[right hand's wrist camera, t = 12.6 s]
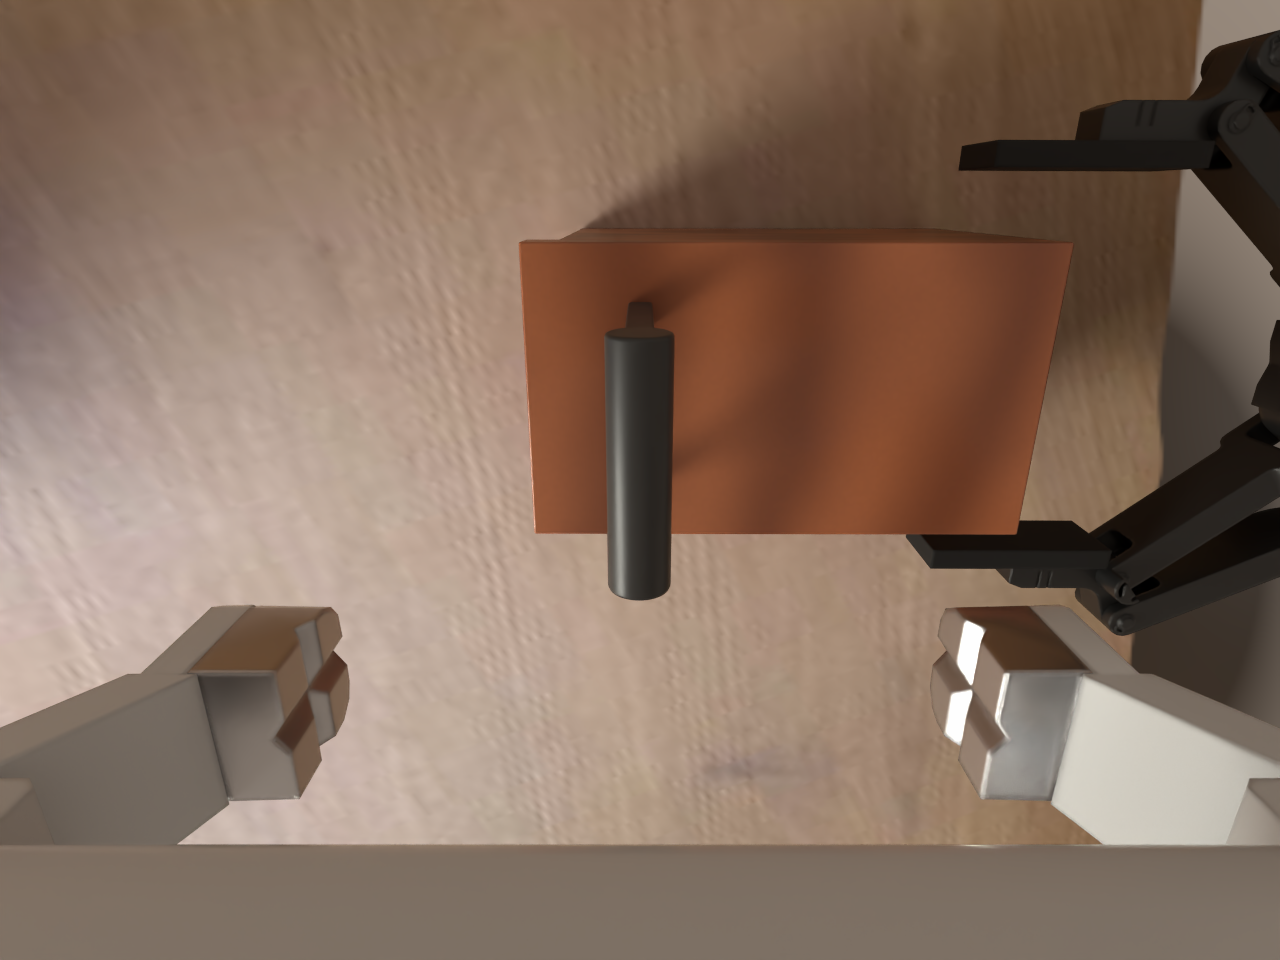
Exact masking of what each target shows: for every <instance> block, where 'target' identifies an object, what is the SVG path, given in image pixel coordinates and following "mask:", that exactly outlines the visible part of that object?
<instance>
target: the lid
mask: <svg viewBox="0 0 1280 960" xmlns="http://www.w3.org/2000/svg"><path fill="white" fill-rule="evenodd" d="M1073 246H1074V243H1072V242H1064V241H1054V240H525V241H522V242H519V257H520V275H521V293H522V312H523V330H524V348H525V367H526V385H527V404H528V422H529V440H530V459H531V477H532V496H533V514H534V532H535V533H536V534H607V538H608V585H609V588H610V590H611V591H612V592H613V593H614V594H615V595H617V596H619V597H622V598H625V599H629V600H650V599H654V598H657V597H660V596H662V595H663V594H665V593H666V592H667V591H668V589H669V587H670V582H671V534H1017V530H1018V524H1019V519H1020V514H1021V509H1022V504H1023V499H1024V494H1025V489H1026V484H1027V479H1028V474H1029V469H1030V464H1031V459H1032V454H1033V449H1034V444H1035V439H1036V434H1037V428H1038V423H1039V418H1040V413H1041V408H1042V403H1043V398H1044V393H1045V388H1046V383H1047V378H1048V373H1049V368H1050V363H1051V358H1052V353H1053V348H1054V343H1055V337H1056V332H1057V327H1058V322H1059V317H1060V312H1061V307H1062V302H1063V297H1064V292H1065V287H1066V282H1067V277H1068V272H1069V267H1070V262H1071V257H1072V252H1073Z"/></svg>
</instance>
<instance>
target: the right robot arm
mask: <svg viewBox="0 0 1280 960" xmlns="http://www.w3.org/2000/svg"><path fill="white" fill-rule="evenodd" d="M341 638H342V632H341V627H340V622H339V617H338V614H337V613H336V612H335V611H334V610H333V609H332V608H331V607H300V606H254V605H231V606H217V607H211V608H210V609H209V610H208V611H207V612H206V613H205V614H204V615H203V616H202V617H201V618H200V619H199V620H197V621H196V622H195V623H194V624H193V625H192V626H191V627H190V628H189V629H188V630H187V631H186V632H185V633H184V634H183V635H181V636H180V637H179V638H178V639H177V640H176V641H175V642H174V643H173V644H172V645H171V646H170V647H169V648H168V649H167V650H165V651H164V652H163V653H162V654H161V655H160V656H159V657H158V658H157V659H156V660H155V661H154V662H153V663H152V664H151V665H149V666H148V667H147V668H146V669H145V670H144V671H143V672H142V673H141V674H127V675H124V676H122V677H119V678H117V679H115V680H112V681H110V682H108V683H105V684H103V685H101V686H98V687H96V688H93V689H91V690H89V691H86V692H84V693H82V694H79V695H77V696H74V697H72V698H70V699H67V700H65V701H63V702H60V703H58V704H56V705H53V706H51V707H48V708H46V709H44V710H41V711H39V712H37V713H34V714H32V715H29V716H27V717H25V718H22V719H20V720H18V721H15V722H13V723H11V724H8V725H6V726H3V727H1V728H0V960H1280V728H1279V727H1276V726H1274V725H1272V724H1269V723H1267V722H1264V721H1262V720H1260V719H1257V718H1255V717H1253V716H1250V715H1248V714H1246V713H1243V712H1241V711H1238V710H1236V709H1234V708H1231V707H1229V706H1227V705H1224V704H1222V703H1220V702H1217V701H1215V700H1212V699H1210V698H1208V697H1205V696H1203V695H1201V694H1198V693H1196V692H1194V691H1191V690H1189V689H1186V688H1184V687H1182V686H1179V685H1177V684H1175V683H1172V682H1170V681H1168V680H1165V679H1163V678H1161V677H1158V676H1156V675H1153V674H1139V673H1138V672H1137V671H1136V670H1135V669H1134V668H1133V667H1132V666H1131V665H1130V664H1128V663H1127V662H1126V661H1125V660H1124V659H1123V658H1122V657H1121V656H1120V655H1119V654H1118V653H1117V652H1116V651H1115V650H1114V649H1113V648H1111V647H1110V646H1109V645H1108V644H1107V643H1106V642H1105V641H1104V640H1103V639H1102V638H1101V637H1100V636H1099V635H1098V634H1097V633H1096V632H1094V631H1093V630H1092V629H1091V628H1090V627H1089V626H1088V625H1087V624H1086V623H1085V622H1084V621H1083V620H1082V619H1081V618H1080V617H1078V616H1077V615H1076V614H1075V613H1074V612H1073V611H1072V610H1071V609H1070V608H1068V607H1065V606H1061V605H1042V606H1002V607H961V608H948V609H945V611H944V614H943V616H942V618H941V620H940V626H939V631H938V638H939V639H940V641H941V642H942V644H943V645H944V647H945V648H946V650H947V651H946V652H945V653H944V654H943V655H942V656H941V657H940V658H939V659H938V660H937V661H936V662H935V663H934V664H933V668H932V676H931V684H930V690H931V700H932V708H933V711H934V714H935V718H936V721H937V723H938V725H939V727H940V729H941V731H942V732H943V734H944V736H946V737H947V738H949V739H950V740H952V741H953V742H955V743H957V744H958V745H960V746H961V747H960V753H959V758H958V761H959V762H960V764H961V766H962V768H963V769H964V771H965V773H966V775H967V776H968V778H969V780H970V781H971V783H972V785H973V787H974V788H975V790H976V792H977V794H978V795H979V797H980V799H996V800H1033V801H1051V805H1053V806H1054V807H1055V808H1057V809H1058V810H1059V811H1061V812H1062V813H1063V814H1064V815H1066V816H1067V817H1068V818H1070V819H1071V820H1072V821H1074V822H1075V823H1076V824H1078V825H1079V826H1080V827H1081V828H1083V829H1084V830H1085V831H1087V832H1088V833H1089V834H1091V835H1092V836H1093V837H1095V838H1096V839H1097V840H1098V841H1100V842H1101V843H1102V844H1104V845H177V844H178V843H179V842H181V841H182V840H183V839H184V838H186V837H187V836H188V835H190V834H191V833H192V832H194V831H195V830H196V829H198V828H199V827H200V826H201V825H203V824H204V823H205V822H207V821H208V820H209V819H211V818H212V817H213V816H215V815H216V814H217V813H218V812H220V811H221V810H222V809H224V808H225V807H226V806H228V805H229V802H228V801H247V800H282V799H300V797H301V795H302V794H303V792H304V790H305V789H306V787H307V785H308V783H309V782H310V780H311V778H312V776H313V775H314V773H315V771H316V769H317V768H318V766H319V764H320V762H321V761H322V758H321V752H320V747H319V746H320V745H322V744H324V743H325V742H327V741H328V740H330V739H331V738H333V737H334V736H336V734H337V732H338V730H339V729H340V727H341V725H342V723H343V721H344V718H345V714H346V710H347V706H348V702H349V674H348V668H347V664H346V663H345V662H344V661H343V660H342V659H341V658H340V657H339V656H338V655H337V654H336V653H335V652H334V651H333V650H334V648H335V647H336V645H337V644H338V642H339V641H340V639H341Z"/></svg>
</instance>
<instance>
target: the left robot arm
mask: <svg viewBox="0 0 1280 960" xmlns="http://www.w3.org/2000/svg"><path fill="white" fill-rule="evenodd" d="M1201 77H1202V81H1201V83H1200V85H1199V87H1198V88H1197V89H1196V91H1195V92H1194V94H1193V95H1192V96H1191V97H1190V98H1189V99H1187V100H1122V101H1117V102H1112V103H1107V104H1103V105H1098V106H1095V107H1093V108H1090V109H1088V110H1085V111H1083V112H1080V117H1079V122H1078V128H1077V133H1076V138H1075V140H995V141H989V142H984V143H978V144H972V145H966V146H962V150H961V157H960V164H959V171H1165V170H1183V169H1191V170H1192V171H1193V172H1194V173H1195V175H1196V176H1197V177H1198V178H1199V179H1200V181H1201V182H1202V183H1203V184H1204V185H1205V187H1206V188H1207V189H1208V190H1209V191H1210V192H1211V194H1212V195H1213V196H1214V197H1215V198H1216V200H1217V201H1218V202H1219V203H1220V204H1221V206H1222V207H1223V208H1224V209H1225V210H1226V211H1227V213H1228V214H1229V215H1230V216H1231V217H1232V219H1233V220H1234V221H1235V222H1236V223H1237V225H1238V226H1239V227H1240V228H1241V229H1242V231H1243V232H1244V233H1245V234H1246V235H1247V236H1248V238H1249V239H1250V240H1251V241H1252V242H1253V244H1254V245H1255V246H1256V247H1257V248H1258V250H1259V251H1260V252H1261V253H1262V254H1263V256H1264V257H1265V258H1266V259H1267V260H1268V262H1269V263H1270V264H1271V265H1272V267H1273V270H1272V271H1271V272H1270V275H1271V277H1272V278H1273V280H1274V281H1275V282H1276V283H1277V284H1278V286H1279V287H1280V30H1278V31H1274V32H1271V33H1267V34H1263V35H1259V36H1256V37H1252V38H1248V39H1245V40H1241V41H1237V42H1233V43H1229V44H1226V45H1222V46H1219V47H1217V48H1215V49H1213V50H1212V51H1211V52H1210V53H1209V54H1208V55H1207V56H1206V57H1205V59H1204V61H1203V63H1202V66H1201ZM1251 404H1252V405H1254V406H1258V407H1259V413H1258V414H1257V415H1255V416H1253V417H1252V418H1250V419H1249V420H1247V421H1246V422H1244V423H1243V424H1241V425H1240V426H1238V427H1237V428H1235V429H1234V430H1232V431H1230V432H1229V433H1227V434H1226V435H1225V436H1223V437H1222V439H1221V441H1220V444H1221V447H1220V448H1219V449H1218V450H1217V451H1215V452H1214V453H1212V454H1211V455H1209V456H1208V457H1206V458H1205V459H1203V460H1201V461H1200V462H1198V463H1197V464H1195V465H1194V466H1192V467H1191V468H1189V469H1188V470H1186V471H1185V472H1183V473H1181V474H1180V475H1178V476H1177V477H1175V478H1174V479H1172V480H1171V481H1169V482H1168V483H1166V484H1164V485H1163V486H1161V487H1160V488H1158V489H1157V490H1155V491H1154V492H1152V493H1151V494H1149V495H1147V496H1146V497H1144V498H1143V499H1141V500H1140V501H1138V502H1137V503H1135V504H1134V505H1132V506H1131V507H1129V508H1127V509H1126V510H1124V511H1123V512H1121V513H1120V514H1118V515H1117V516H1115V517H1114V518H1112V519H1110V520H1109V521H1107V522H1106V523H1104V524H1103V525H1101V526H1100V527H1098V528H1097V529H1095V530H1093V531H1092V532H1090V533H1087V532H1086V531H1085V530H1083V529H1082V528H1081V527H1079V526H1078V525H1077V524H1075V523H1074V522H1073V521H1019V524H1018V530H1017V534H906V538H907V539H908V541H909V542H910V543H911V544H912V546H913V547H914V548H915V549H916V551H917V552H918V553H919V554H920V556H921V557H922V558H923V560H924V561H925V562H926V563H927V565H928V566H929V567H930V568H935V569H996V570H997V571H998V572H999V573H1000V574H1001V575H1002V576H1003V577H1004V578H1005V579H1006V580H1007V581H1008V582H1009V583H1010V584H1013V585H1015V586H1018V587H1021V588H1035V587H1037V588H1046V587H1048V588H1076V591H1075V597H1076V599H1077V600H1078V601H1079V602H1080V603H1081V604H1082V605H1083V606H1084V607H1085V608H1086V609H1087V610H1088V611H1090V612H1091V613H1092V614H1093V615H1094V616H1095V617H1096V618H1097V619H1098V620H1099V621H1100V622H1102V623H1103V624H1104V625H1105V626H1106V627H1107V628H1108V629H1109V630H1110V631H1111V632H1113V633H1114V634H1116V635H1121V636H1124V635H1129V634H1132V633H1134V632H1137V631H1139V630H1142V629H1145V628H1147V627H1150V626H1152V625H1155V624H1158V623H1160V622H1163V621H1166V620H1168V619H1171V618H1173V617H1176V616H1179V615H1181V614H1184V613H1186V612H1189V611H1192V610H1194V609H1197V608H1200V607H1202V606H1205V605H1207V604H1210V603H1213V602H1215V601H1218V600H1220V599H1223V598H1226V597H1228V596H1231V595H1234V594H1236V593H1239V592H1241V591H1244V590H1247V589H1249V588H1252V587H1255V586H1257V585H1260V584H1262V583H1265V582H1268V581H1270V580H1273V579H1275V578H1278V577H1280V508H1273V509H1268V510H1264V511H1260V512H1256V511H1258V510H1259V509H1261V508H1262V507H1264V506H1266V505H1267V504H1269V503H1270V502H1272V501H1274V500H1275V499H1277V498H1278V497H1280V448H1277V447H1275V446H1273V445H1275V444H1277V443H1278V442H1280V320H1277V321H1276V324H1275V327H1274V331H1273V334H1272V337H1271V340H1270V361H1269V365H1268V367H1267V368H1266V370H1265V372H1264V373H1263V375H1262V377H1261V379H1260V381H1259V382H1258V384H1257V387H1256V390H1255V393H1254V397H1253V400H1252V403H1251ZM1254 512H1256V513H1254ZM1116 556H1117V557H1116Z"/></svg>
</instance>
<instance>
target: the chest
mask: <svg viewBox="0 0 1280 960" xmlns="http://www.w3.org/2000/svg"><path fill="white" fill-rule="evenodd" d="M560 240H1043V239H1033V238H1023V237H1012V236H1002V235H992V234H982V233H972V232H962V231H951V230H941V229H674V228H582V229H580V230H579V231H577V232H575V233H573V234H571V235H569V236H567V237H564V238H562V239H560Z"/></svg>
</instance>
